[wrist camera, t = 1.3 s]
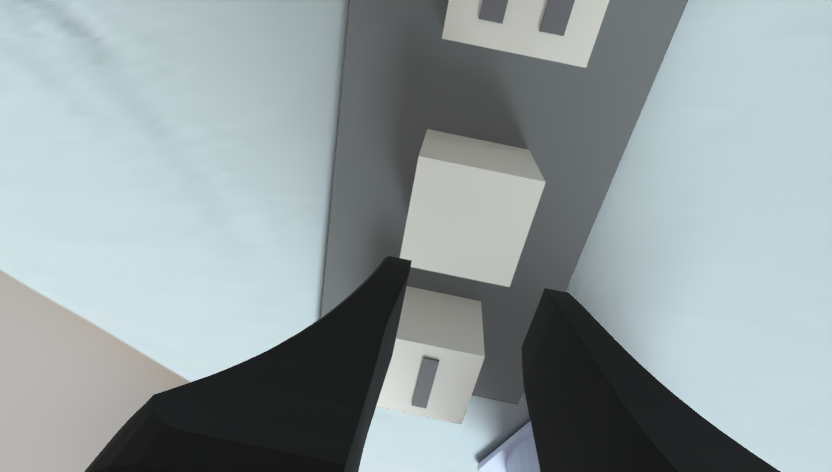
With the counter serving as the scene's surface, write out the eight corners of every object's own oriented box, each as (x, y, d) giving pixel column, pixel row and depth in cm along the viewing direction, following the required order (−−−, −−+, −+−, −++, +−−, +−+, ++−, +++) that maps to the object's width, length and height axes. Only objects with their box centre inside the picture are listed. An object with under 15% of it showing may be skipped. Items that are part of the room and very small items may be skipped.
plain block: (529, 149, 18) (545, 182, 14) (500, 239, 20) (509, 287, 16) (427, 128, 18) (418, 155, 14) (409, 220, 20) (398, 264, 16)
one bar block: (481, 301, 22) (485, 358, 18) (461, 363, 24) (461, 426, 20) (397, 284, 22) (383, 337, 18) (384, 347, 24) (370, 407, 20)
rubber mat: (516, 396, 25) (517, 404, 25) (319, 355, 25) (316, 363, 25) (738, -140, 14) (750, -147, 13) (373, -214, 14) (369, -223, 13)
